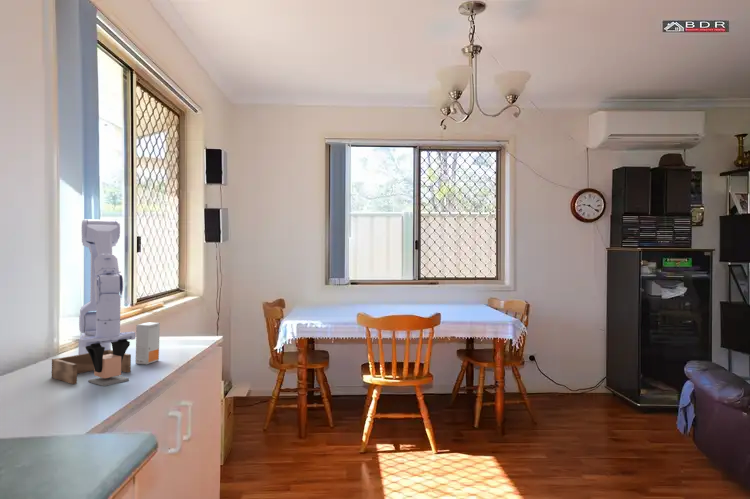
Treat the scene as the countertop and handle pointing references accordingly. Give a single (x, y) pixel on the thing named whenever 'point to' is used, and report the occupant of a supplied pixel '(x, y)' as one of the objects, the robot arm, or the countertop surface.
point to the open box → (81, 366)
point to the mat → (108, 380)
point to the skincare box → (147, 342)
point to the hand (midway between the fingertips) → (107, 369)
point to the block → (110, 366)
